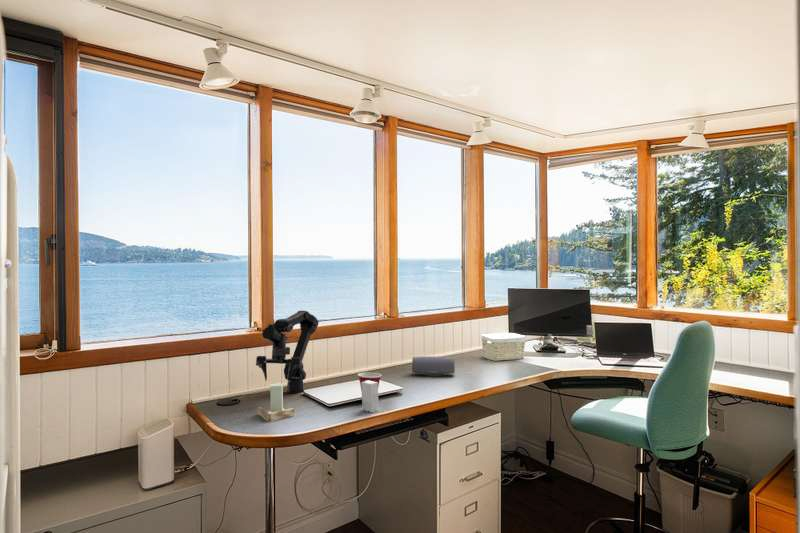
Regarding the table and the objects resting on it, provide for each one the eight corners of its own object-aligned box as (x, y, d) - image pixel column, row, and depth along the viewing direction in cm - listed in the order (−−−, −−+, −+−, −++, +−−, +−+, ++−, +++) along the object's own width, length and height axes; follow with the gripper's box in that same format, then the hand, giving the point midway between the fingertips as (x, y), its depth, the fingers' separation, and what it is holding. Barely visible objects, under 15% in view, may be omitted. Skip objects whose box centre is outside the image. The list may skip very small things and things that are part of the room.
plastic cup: (386, 398, 220) (386, 372, 220) (373, 405, 211) (373, 377, 210) (366, 395, 226) (366, 369, 225) (353, 401, 216) (352, 374, 216)
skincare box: (379, 410, 203) (378, 382, 203) (371, 413, 200) (371, 384, 200) (369, 407, 208) (368, 379, 207) (361, 410, 204) (361, 381, 204)
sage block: (282, 411, 202) (282, 382, 202) (282, 415, 197) (281, 385, 197) (271, 412, 201) (271, 383, 201) (270, 415, 197) (270, 386, 196)
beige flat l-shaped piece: (283, 409, 206) (283, 402, 206) (294, 415, 197) (294, 408, 197) (257, 414, 200) (257, 407, 199) (268, 421, 191) (268, 414, 191)
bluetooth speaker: (454, 373, 267) (454, 355, 267) (454, 377, 258) (454, 358, 258) (413, 372, 270) (413, 354, 269) (412, 376, 260) (411, 358, 260)
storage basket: (512, 354, 317) (512, 331, 317) (527, 359, 302) (527, 335, 302) (480, 357, 309) (480, 334, 309) (493, 362, 294) (493, 338, 294)
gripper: (258, 338, 209) (255, 374, 201) (302, 340, 214) (301, 375, 206) (257, 347, 218) (254, 382, 210) (299, 349, 223) (298, 383, 215)
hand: (277, 380), depth 210 cm, fingers open, 9 cm apart
